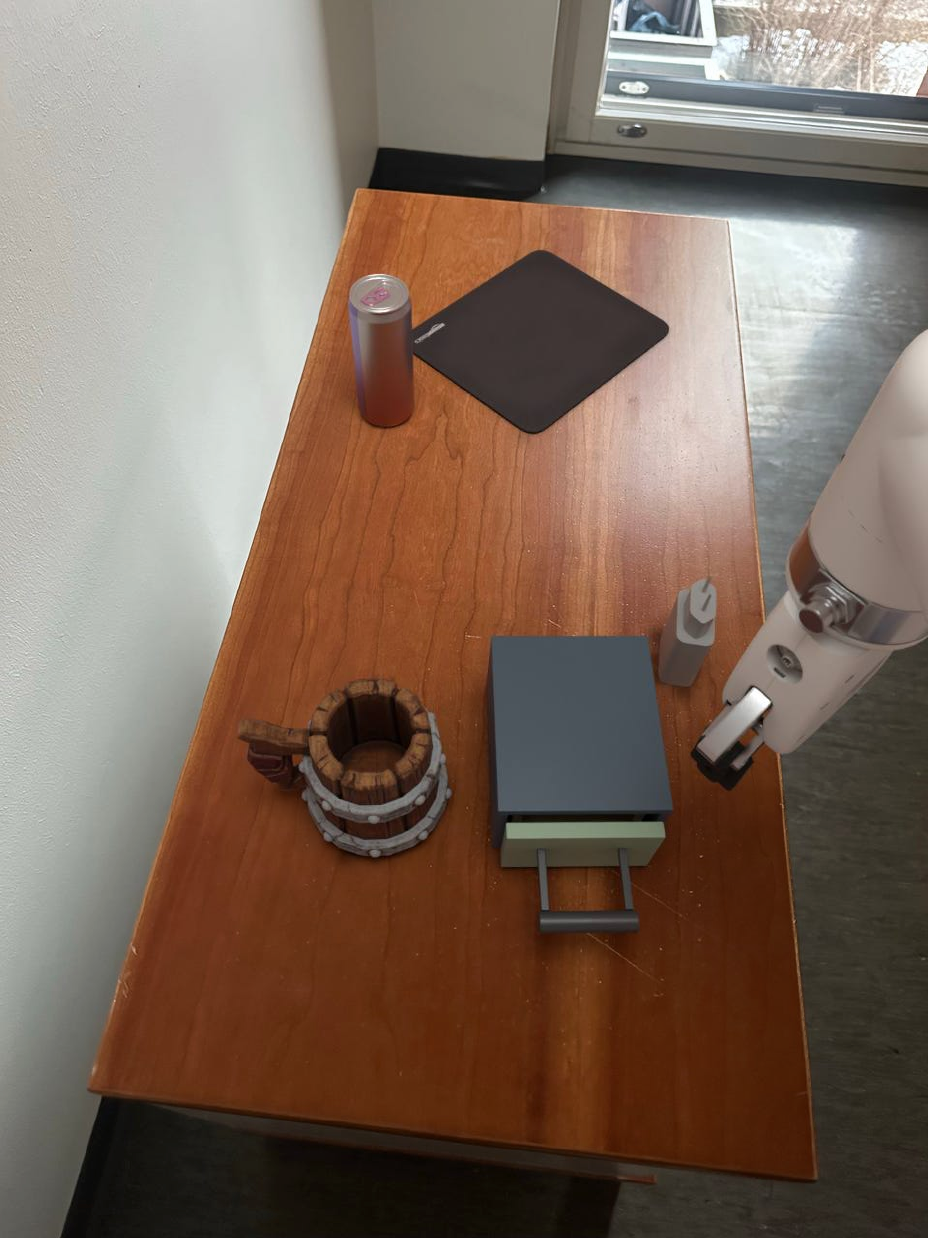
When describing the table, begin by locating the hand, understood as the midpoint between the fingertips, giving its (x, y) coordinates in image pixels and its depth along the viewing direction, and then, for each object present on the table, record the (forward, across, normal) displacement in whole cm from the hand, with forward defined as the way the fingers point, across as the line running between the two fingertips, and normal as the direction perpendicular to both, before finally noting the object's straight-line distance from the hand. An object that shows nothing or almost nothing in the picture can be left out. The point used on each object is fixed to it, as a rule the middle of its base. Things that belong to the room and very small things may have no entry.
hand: (762, 724), depth 56 cm
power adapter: (+19, +11, +11) cm, 25 cm away
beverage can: (+19, +10, +52) cm, 57 cm away
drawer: (+18, -7, +6) cm, 21 cm away
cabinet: (+19, -4, +10) cm, 22 cm away
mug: (+19, -19, +19) cm, 33 cm away
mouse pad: (+19, +30, +51) cm, 62 cm away
